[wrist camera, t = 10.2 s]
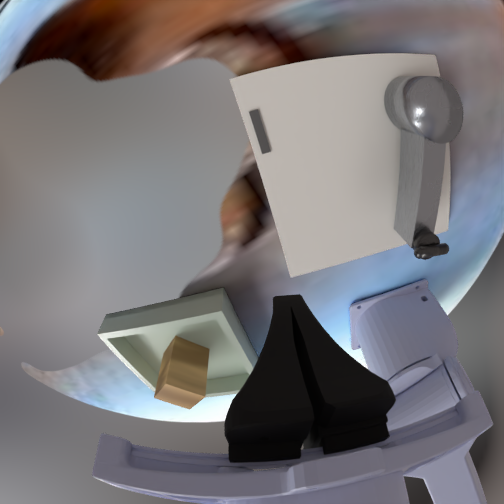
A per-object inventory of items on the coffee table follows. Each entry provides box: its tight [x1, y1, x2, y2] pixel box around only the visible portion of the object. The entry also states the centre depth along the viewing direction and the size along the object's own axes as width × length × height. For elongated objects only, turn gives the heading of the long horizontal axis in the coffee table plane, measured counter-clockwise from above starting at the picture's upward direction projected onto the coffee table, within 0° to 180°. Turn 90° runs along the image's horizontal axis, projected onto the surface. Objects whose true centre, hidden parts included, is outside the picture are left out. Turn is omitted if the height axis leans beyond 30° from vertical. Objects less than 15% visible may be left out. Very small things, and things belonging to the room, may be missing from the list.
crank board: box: [230, 53, 450, 277], centre depth 18 cm, size 16×16×1 cm
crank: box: [384, 76, 463, 260], centre depth 15 cm, size 13×4×5 cm, turn 7°
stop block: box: [154, 335, 210, 409], centre depth 25 cm, size 4×4×6 cm
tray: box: [98, 288, 258, 397], centre depth 27 cm, size 14×14×3 cm
